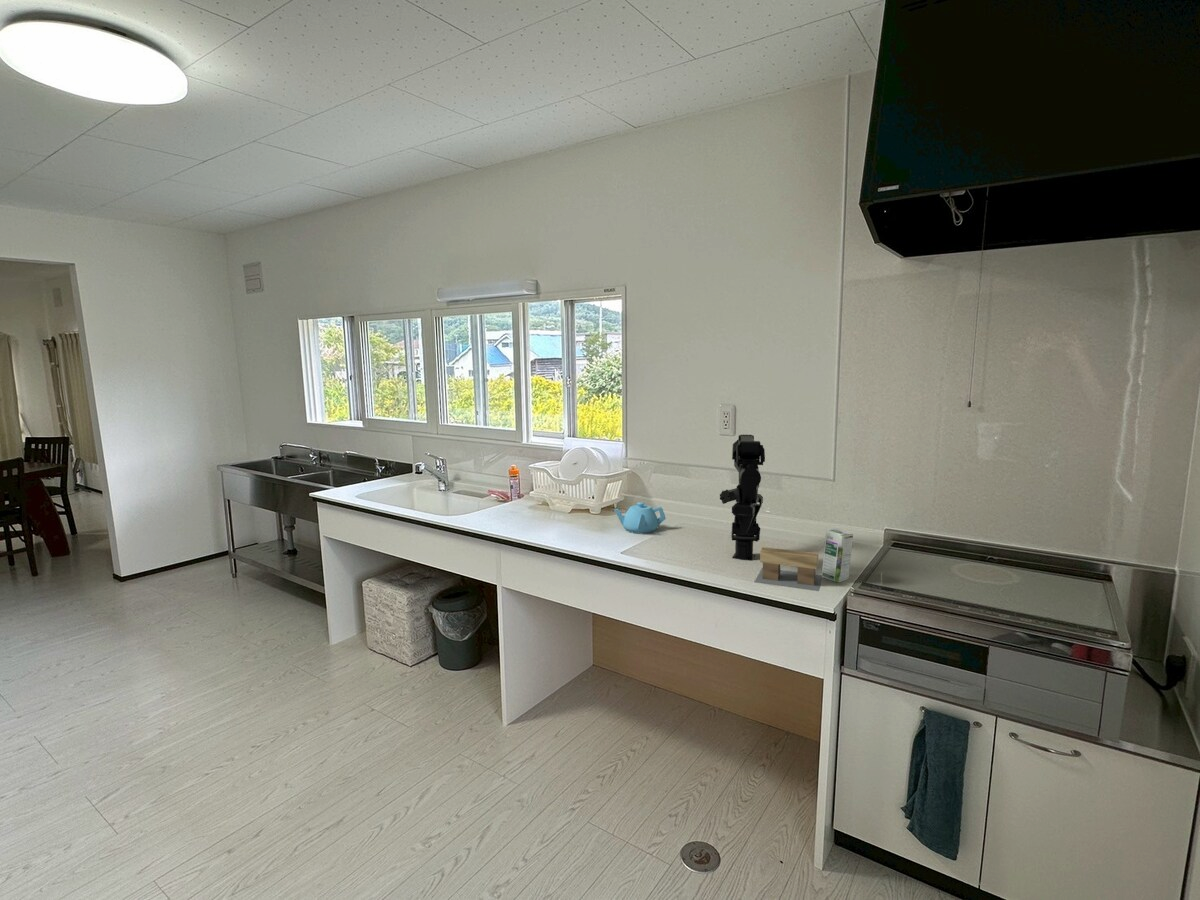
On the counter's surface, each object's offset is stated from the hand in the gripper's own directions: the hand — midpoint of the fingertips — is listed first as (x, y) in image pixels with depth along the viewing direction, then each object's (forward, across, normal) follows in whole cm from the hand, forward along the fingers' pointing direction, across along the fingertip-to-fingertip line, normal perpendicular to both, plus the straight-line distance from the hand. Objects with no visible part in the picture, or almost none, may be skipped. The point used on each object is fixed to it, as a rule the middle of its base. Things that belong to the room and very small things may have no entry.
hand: (747, 530), depth 190 cm
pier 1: (+12, +5, +8) cm, 16 cm away
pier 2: (+12, +5, +18) cm, 23 cm away
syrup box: (+13, -2, +26) cm, 29 cm away
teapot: (+13, -31, -47) cm, 58 cm away
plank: (+7, +5, +13) cm, 16 cm away
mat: (+12, +4, +14) cm, 19 cm away
